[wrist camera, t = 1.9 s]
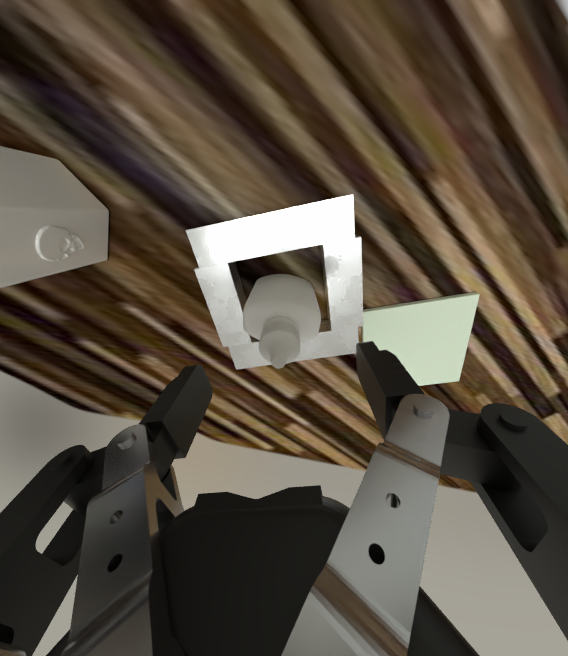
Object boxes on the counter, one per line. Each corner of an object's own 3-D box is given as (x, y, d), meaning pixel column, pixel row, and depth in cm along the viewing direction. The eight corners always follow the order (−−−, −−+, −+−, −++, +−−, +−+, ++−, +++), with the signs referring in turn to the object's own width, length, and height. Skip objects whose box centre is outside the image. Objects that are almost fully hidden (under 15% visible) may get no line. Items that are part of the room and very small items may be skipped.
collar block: (192, 229, 19) (179, 231, 17) (351, 195, 18) (360, 192, 16) (236, 356, 26) (231, 370, 24) (357, 339, 24) (363, 351, 22)
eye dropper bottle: (294, 320, 23) (297, 409, 13) (248, 292, 22) (211, 365, 11) (319, 288, 22) (347, 360, 11) (272, 255, 20) (252, 301, 10)
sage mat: (361, 310, 23) (362, 312, 22) (474, 291, 21) (479, 293, 21) (363, 388, 28) (364, 392, 27) (455, 377, 26) (459, 380, 26)
